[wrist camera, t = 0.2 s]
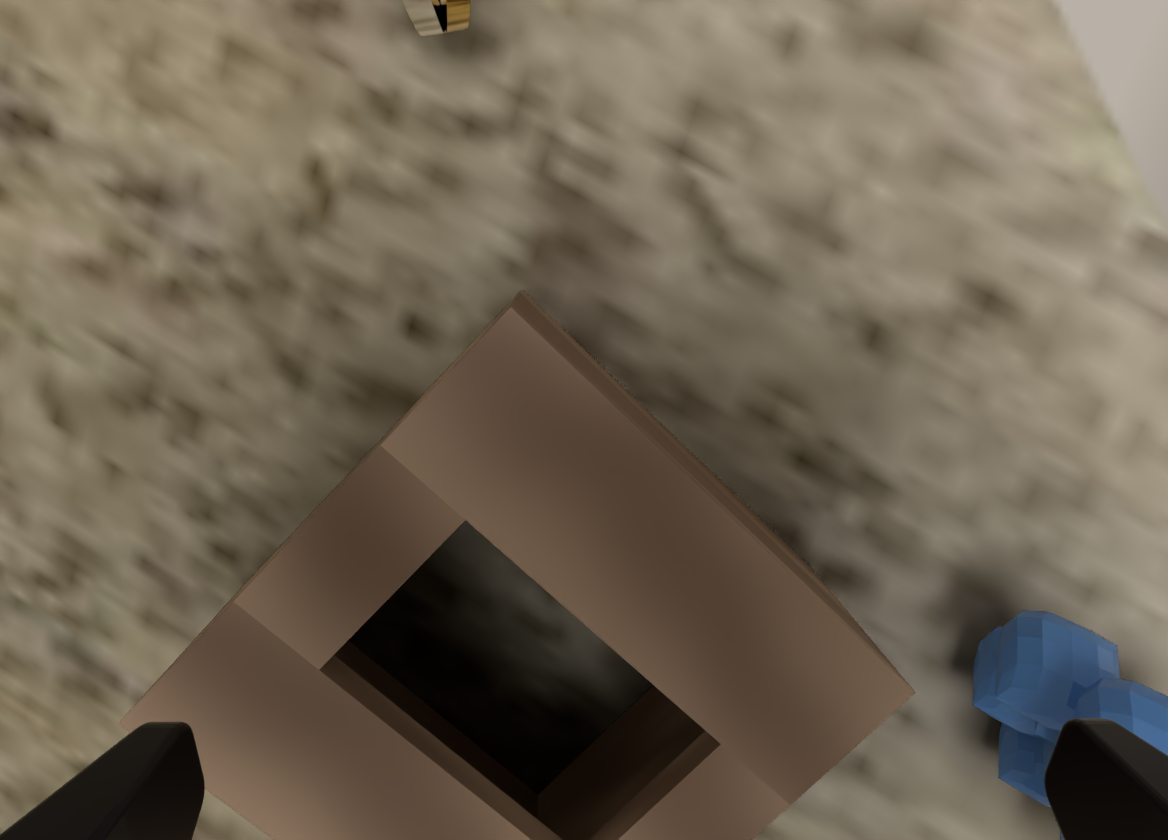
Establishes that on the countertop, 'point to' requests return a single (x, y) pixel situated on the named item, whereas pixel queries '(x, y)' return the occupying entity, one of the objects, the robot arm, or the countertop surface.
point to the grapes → (1055, 693)
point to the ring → (438, 15)
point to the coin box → (575, 579)
